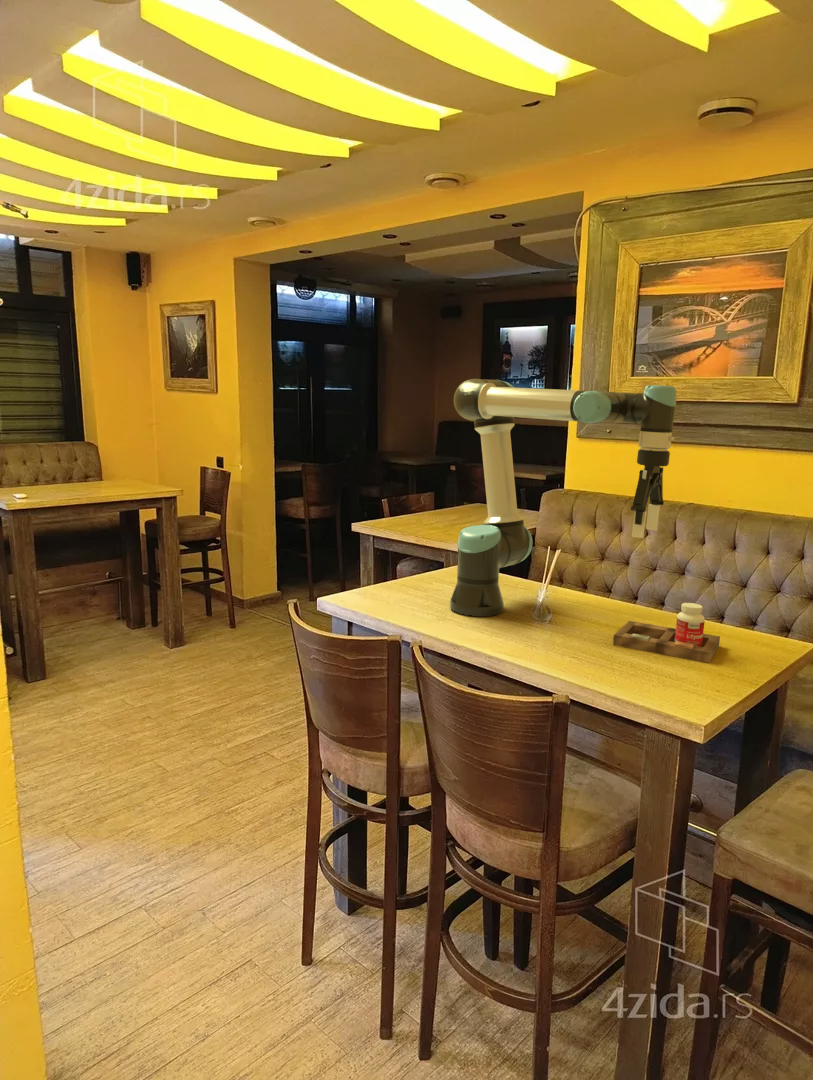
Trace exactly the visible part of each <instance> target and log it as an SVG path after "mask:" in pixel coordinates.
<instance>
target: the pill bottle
mask: <svg viewBox="0 0 813 1080" xmlns="http://www.w3.org/2000/svg"><path fill="white" fill-rule="evenodd" d="M680 607H681V608H680V609H681V611H680V612H679V613H678V614H677V616H676V625H675V629H676V632H675V642H676V641H678V642H683V643H689V644H694V646H699V647H702V640H703V634H704V631H705V630H704V629H705V621H706V619H705V616H704V615H703V614H702V613H703V606H702V605H701V604H699V603H693V602H683V603H681V605H680Z"/></svg>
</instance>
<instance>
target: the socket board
mask: <svg viewBox="0 0 813 1080" xmlns="http://www.w3.org/2000/svg"><path fill="white" fill-rule="evenodd" d="M675 632H676V628H674V627H667V626H661V625H655V624H651V623H643V622H638V621H631V620H628V621H626V623H625V624H623V626H622V627H620V629H619V630H617V631H616V632H615V633H614V634H613V639H612V640H613V641H612V642H613V643H612V645H613V646H617V647H624V648H629V649H633V650H639V651H644V652H649V653H655V654H659V655H664V656H670V657H674V658H675V657H676V658H681V659H686V660H691V661H696V662H702V663H707V664H710V663H711V662H712V661H713V657H714V656H715V655H716V652H717V651H718V650H719V647H720V641H721V635H720V636H719V635H714V634H708V633H703V640H702V647H699V646H694V644H689V643H683V642H678V641H676V642H675Z"/></svg>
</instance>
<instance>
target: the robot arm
mask: <svg viewBox="0 0 813 1080" xmlns="http://www.w3.org/2000/svg"><path fill="white" fill-rule="evenodd" d="M453 406H454V408H455V411H456V412H457V413H458V415H459V416H460V417H462V418H463V419H465V420H468V421H470V422H473V424H474V430H475V431H476V432H477V433H478V434H479V435H480V444H481V453H482V454H481V455H482V463H483V474H484V475H483V476H484V485H485V496H486V508H487V517H486V519H484V521H483V524H478V525H470V526H466V527H464V528H462V529H461V530H460V532H459V534H458V540H457V573H456V575H457V577H456V579H457V580H456V583H455V587H454V590H453V592H452V595H451V597H450V603H449V604H450V605H449V609H450V608H451V609H452V610H454V611H456V612H458V613H461V614H460V615H462V614H466V615H465V616H468V615H472V616H471V617H492V615H493V616H498V615H500V614H502V613H503V612H504V611H505V610H504V606H505V602H504V598H503V596H502V595H503V594H502V592H501V589H500V585H499V580H500V579H499V576H500V569H502V568H505V567H508V566H515V565H517V564H519V563H521V562H523V561H524V560H526V559H527V557H529V555H530V554H531V551H532V549H533V543H534V542H533V536H532V534H531V532H530V530H529V529H528V528H527V527H526V525H525V524H524V523H525V522H524V517H522V516H521V515H520V514H519V512H518V504H517V494H516V493H517V491H516V482H515V471H514V461H513V460H514V459H513V451H512V450H513V449H512V439H511V430H512V429H513V428H514V427H515V426H516V425H515V418H521V419H522V418H523V419H524V418H525V419H537V420H539V419H540V420H552V421H563V422H577V423H585V424H603V423H604V424H611V423H612V424H619V423H621V424H637V425H638V424H639V425H640V429H639V430H640V431H639V437H638V447H639V449H638V450H637V456H636V457H637V458H636V463H637V465H640V466H644V467H643V469H640V470H639V475H638V480H637V485H636V490H635V494H634V499H633V502H632V505H631V506H630V510H631V511H632V512H633V521H632V527H631V528H632V530H631V537H632V538H636V539H637V538H638V539H644V537H645V529H646V530H652V531H658V526H659V517H660V511H661V510H660V507H661V506H664V503H665V502H664V498H663V497H664V495H663V494H664V491H663V490H664V489H663V484H664V481H663V479H664V477H663V474H664V467H667V466H669V464H670V455H671V453H670V451H669V449H671V446H672V445H671V444H672V441H674V440H675V437H674V436H672V435H673V427H674V420H675V413H676V408H677V407H676V406H677V388H676V387H674V386H672V385H658V384H657V385H646V386H645V388H644V391H643V392H641V393H640V392H638V393H635V392H616V391H602V390H601V391H600V390H593V389H592V390H575V389H554V388H532V387H531V388H530V387H529V388H528V387H514V386H513V385H512V384H511V383H509V382H507V381H504V380H500V379H482V378H481V379H480V378H472V379H467V380H465V381H463V382H462V383H460V384H459V386H458V387H457V388H456V390H455V392H454V395H453ZM648 502H649V504H648ZM647 507H648V508H647ZM646 509H647V510H646ZM451 609H450V610H451ZM452 610H451V611H452ZM454 611H453V612H454ZM456 612H455V613H456ZM458 613H457V614H458ZM497 614H498V615H497Z"/></svg>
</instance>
